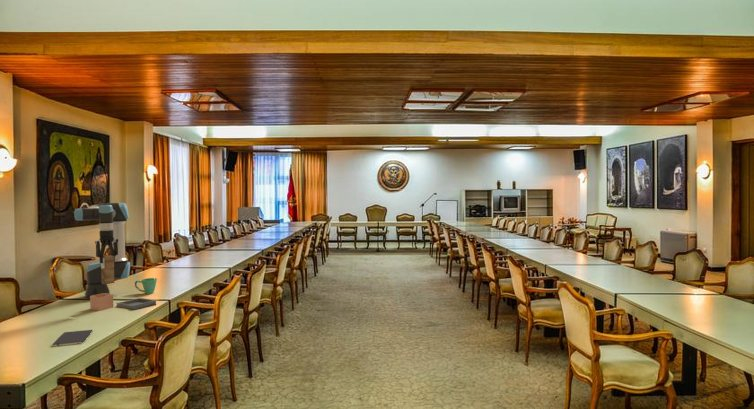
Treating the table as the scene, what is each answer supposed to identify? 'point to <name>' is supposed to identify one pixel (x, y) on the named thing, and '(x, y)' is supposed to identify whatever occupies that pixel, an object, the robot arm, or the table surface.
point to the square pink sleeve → (101, 301)
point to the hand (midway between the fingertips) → (107, 267)
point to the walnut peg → (108, 270)
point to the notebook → (72, 337)
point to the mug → (147, 285)
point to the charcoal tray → (137, 303)
